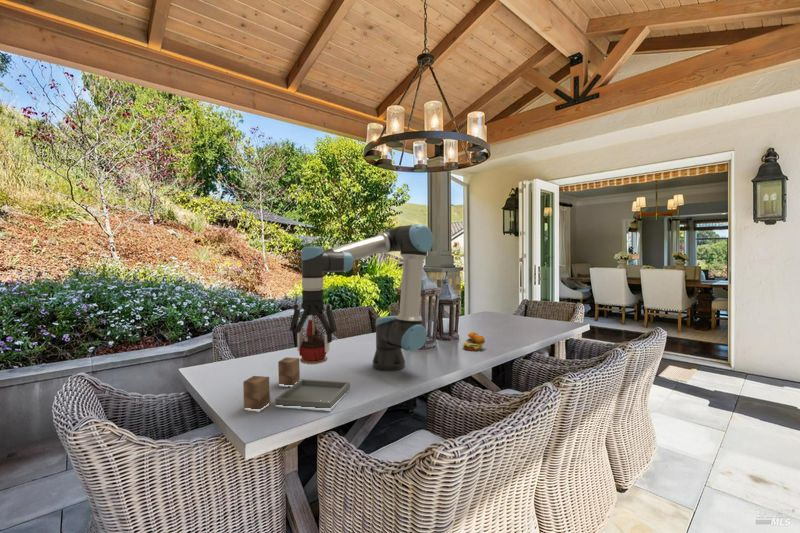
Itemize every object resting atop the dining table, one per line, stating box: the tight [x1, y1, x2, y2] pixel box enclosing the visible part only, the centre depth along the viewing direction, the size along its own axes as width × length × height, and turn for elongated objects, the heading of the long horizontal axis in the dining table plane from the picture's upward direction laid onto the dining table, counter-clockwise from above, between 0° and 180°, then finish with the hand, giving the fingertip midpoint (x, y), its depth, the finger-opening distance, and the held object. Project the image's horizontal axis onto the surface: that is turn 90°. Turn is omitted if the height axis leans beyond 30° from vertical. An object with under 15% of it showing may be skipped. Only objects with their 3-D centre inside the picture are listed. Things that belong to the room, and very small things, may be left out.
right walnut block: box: [277, 357, 301, 385], centre depth 153 cm, size 6×6×10 cm
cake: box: [298, 315, 329, 365], centre depth 138 cm, size 11×9×18 cm
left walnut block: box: [242, 375, 271, 409], centre depth 131 cm, size 6×6×10 cm
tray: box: [274, 378, 351, 408], centre depth 139 cm, size 20×20×3 cm
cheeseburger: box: [462, 331, 486, 352], centre depth 205 cm, size 10×11×10 cm
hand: (313, 350), depth 138 cm, fingers closed on cake, 10 cm apart
